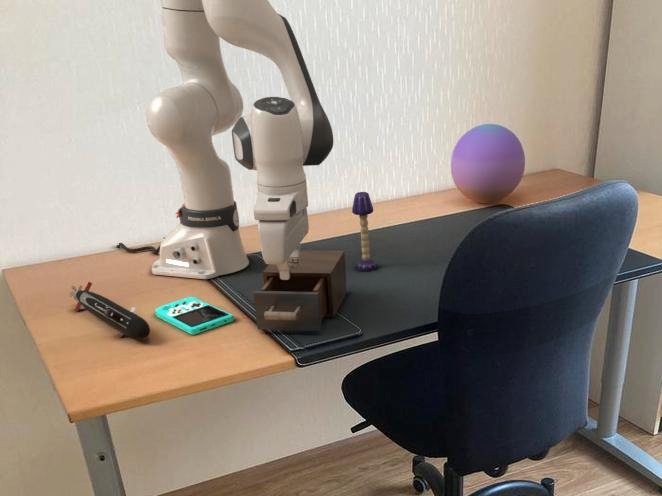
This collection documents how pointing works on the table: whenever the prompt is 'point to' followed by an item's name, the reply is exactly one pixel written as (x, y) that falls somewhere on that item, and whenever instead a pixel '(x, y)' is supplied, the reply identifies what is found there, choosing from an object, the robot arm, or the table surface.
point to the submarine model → (111, 313)
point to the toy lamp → (364, 228)
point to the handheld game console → (193, 315)
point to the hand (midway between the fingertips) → (290, 272)
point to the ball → (487, 163)
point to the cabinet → (320, 274)
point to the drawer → (292, 303)
